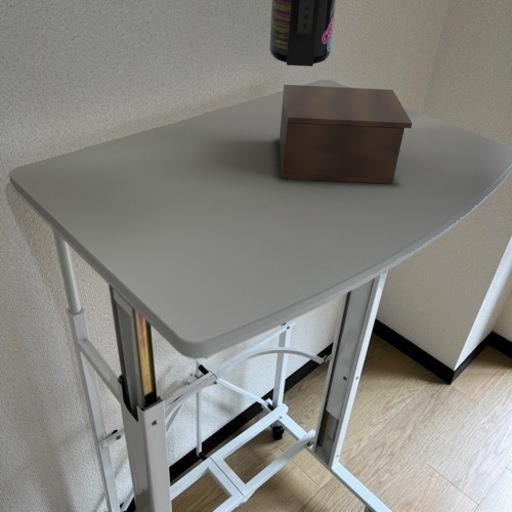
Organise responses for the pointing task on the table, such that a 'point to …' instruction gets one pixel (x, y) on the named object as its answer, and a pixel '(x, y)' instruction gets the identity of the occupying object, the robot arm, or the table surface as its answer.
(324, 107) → the lid
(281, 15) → the supplement container
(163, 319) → the table surface
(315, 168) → the chest
